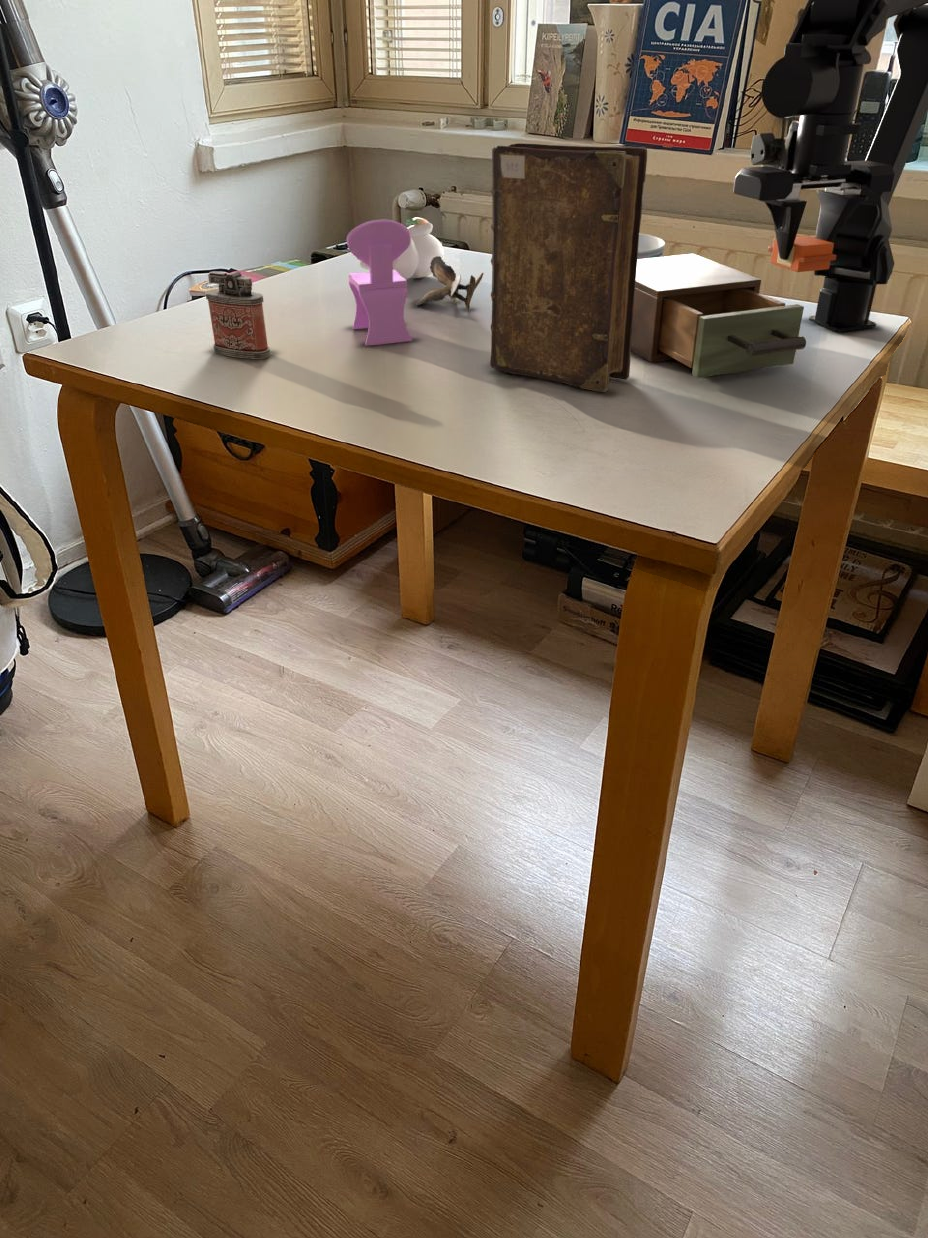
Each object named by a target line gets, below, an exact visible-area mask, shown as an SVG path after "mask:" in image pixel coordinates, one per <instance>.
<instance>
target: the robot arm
mask: <svg viewBox="0 0 928 1238" xmlns="http://www.w3.org/2000/svg"><path fill="white" fill-rule="evenodd" d="M893 17H895V19H894V20H893V28H894V31H895V34H896V38H897V41H898V42H897V45H896V48H895V55H896V61H897V68H898V73H899V74H898V79H897V81H896V83H895V85H894V88H893V90H892V93H891V96H890V98H889V100H888V103H887V105H886V108H885V111H884V113H883V116H882V118H881V121H880V123H879V125H878V128H877V130H876V132H875V135H874V137H873V139H872V142H871V146H870V148H869V150H868V151H867V155H866V157H865V160H849V161H846V157H847V152H848V148H849V142H850V136H851V135H858V134H859V131H860V126H861V124H860V123H855V122H854V121H853V120H854V116H855V111H856V106H857V102H858V96H859V91H860V87H861V86H860V85H861V81H862V76H863V71H864V66H865V65H869V64H870V63H871V62H872V56H871V53H870V52H869V50H868V49H867V46H869V44H870V43H871V41H872V39H874V38H875V37H876V36H878V35H879V34H880V33H881V32H883V31H884V30H885V29H886V25H887V20H888V19H890V18H893ZM761 100H762V103H763V105H764V108H765V109H766V111H767V112H768V114H771V115H772V116H773V117H775V118H779V119H786V118H787V119H788V118H794V117H795V118H796V117H799V120H792V121H791V124H790V125H789V128H788V133H787V136H785V137H781V138H778V137H777V138H776V137H775V135H774V133H773V132H760V133H758V134H756V135H753V137H752V142H751V146H750V151H749V152H750V153H749V154H750V157H749V158H750V163H751V165H752V166H749V167H741V169H740V171H739V172H738V173H737V174H736V175H735V178H734V183H733V189H732V190H733V191H732V193H733V195H738V196H742V197H744V198H745V197H746V198H748V199H753V200H757V201H759V202H763V203H764V204H765V205H766V208H767V209H768V210H769V212H770V215H771V218H772V222H773V227H774V232H775V237H776V239H777V244H778V250H779V256H780V258H781V259H783V260H787V259H788V257H789V255H790V253H791V250H792V248H793V245H794V241H795V238H796V236H798V232H799V228H800V226H801V223H802V219H803V215H804V213H805V209H806V206H807V202H808V201H807V200H803V199H801V198H800V196H801V190H812V189H813V190H814V189H816V194H817V198H818V203H819V206H820V207H819V208H820V209H819V214H818V220H817V221H818V222H817V226H816V232H815V237H814V238H818V239H821V240H825V241H828V242H832V243H834V246H833V251H832V254H834V255H836V260H832V261H830V266H829V269H826V270H816V271H813V274H814V276H817V277H819V276H820V277H824V278H823V285H822V288H821V289H820V290H819V294H818V299H817V305H816V311H815V315H809V316H808V321H810V322H812V323H815V324H817V325H820V326H822V327H824V328H826V329H829V330H832V331H834V332H838V333H841V332H849V331H856V330H857V331H858V330H864V329H871V328H876V327H877V322H874V321H872V320H870V315H871V311H872V306H873V302H874V298H875V293H876V289H877V285H887V284H888V282H889V280H890V278H891V276H892V274H893V270H894V267H895V260H894V255H893V252H892V248H891V243H890V237H891V234H892V231H893V227H892V226H893V225H892V221H891V215H890V209H889V208H890V207H889V206H890V202H891V201H892V197H893V195H894V193H895V192H896V191H895V190H896V189H897V186H898V183H899V181H900V178H901V176H902V174H903V171H904V169H905V166H906V164H907V162H908V159H909V156H910V154H911V152H912V150H913V146H914V144H915V142H916V139H917V137H918V134H919V132H920V131H921V128H922V125H923V123H924V120H925V118H926V115H927V113H928V0H808V1H807V2H806V5H805V7H804V9H803V11H802V13H801V15H800V17H799V19H798V21H797V23H796V26H795V27H794V30H793V31H792V34H791V36H790V38H789V40H788V43H786V44H785V46H784V53H783V57H781V58H779V59H777V60H776V61H775V62H774V63H773V64H772V65H771V66H770V68H769V69H768V71H767V72H766V74H765V76H764V78H763V80H762V84H761ZM817 189H819V190H817Z"/></svg>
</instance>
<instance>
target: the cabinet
mask: <svg viewBox="0 0 928 1238" xmlns="http://www.w3.org/2000/svg"><path fill="white" fill-rule="evenodd" d="M761 284H762V279H761V278H758V277H757V276H753V275H750V274H748V273H745V272H743V271H740V270H737V269H735V268H732V267H731V266H730V267H729V266H727V265H724V264H722V263H719V262H716V261H714V260H711V259H708V258H706V257H703V256H702V255H701V256H700V255H698V254H695V253H688V254H687V253H685V254H675V255H667V256H662V257H655V258H645V259H637V270H636V282H635V297H634V308H633V329H632V335H631V352H633V353H634V354H636V355H638V356H639V357H641V358H643V359H645V360H646V361H648V362H650V363H654V362H662V361H670V360H675V359H674V358H672V357H670V356H669V355H667V354H665V353H663V352H661V351H660V350H658V339H659V330H660V320H661V310H662V301H663V298H662V297H670V296H679V295H687V294H696V293H704V292H713V291H721V290H730V289H739V288H748V289H750V290H753V291H755V292H758V293H760V291H761Z"/></svg>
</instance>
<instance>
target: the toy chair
mask: <svg viewBox="0 0 928 1238" xmlns="http://www.w3.org/2000/svg"><path fill="white" fill-rule="evenodd" d="M408 228H409V227H406V225H405V224H402V223H400V222H398V221H395V220H391V219H385V218H384V219H372V220H368V221H365V222H363V223H361V224H358V225H357V226H355V227H354V228H352V229H351V230H350V231H349V232H348V234H347V236H346V245H347V248H348V250H349V252H350V253H351V255H353V256H354V257H355V258H356V259H357V260H358V261H359V262H360V261H362V262H364V263H365V264H367V265H368V266H369V270H368V271H369V272H351V273H348V285H349V288H350V290H351V292H352V294H353V297H354V301H355V315H354V320H353V324H352V329H353V330H359V329H368V330H367V336H366V339H365V343H364V345H365V346H379V345H387V344H395V343H396V344H397V343H407V342H412V341H413V339H412V337H411V334H410V333H409V330H408V328H407V325H406V322H405V317H404V316H405V313H404V311H405V305H406V301H407V298H408V293H409V290H408V279H407V280H406V279H405V278H403V277H401V276H400V275H399V273H398V272H397V271H396V270H393V261H394V260H395V259H397V258H398V257H399V256H400V255H401V254H402V253H403V252H404V251H405V250H406V249H407V248H408V247H409V245H410V240H411V236H410V232H409V230H408Z"/></svg>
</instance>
